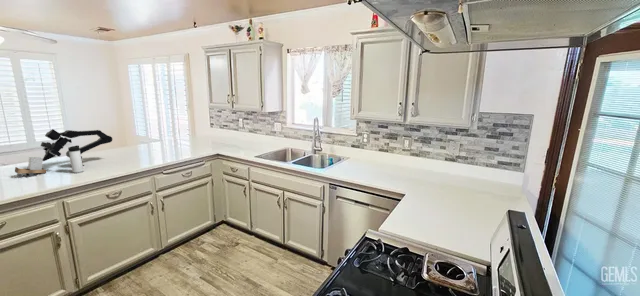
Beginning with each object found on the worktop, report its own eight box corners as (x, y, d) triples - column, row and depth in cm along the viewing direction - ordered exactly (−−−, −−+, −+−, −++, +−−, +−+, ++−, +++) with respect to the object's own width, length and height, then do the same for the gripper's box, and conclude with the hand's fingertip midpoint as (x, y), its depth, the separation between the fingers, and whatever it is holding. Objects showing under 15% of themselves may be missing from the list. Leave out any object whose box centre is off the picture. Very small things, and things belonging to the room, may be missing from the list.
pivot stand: (42, 171, 212) (41, 168, 211) (47, 173, 206) (46, 170, 205) (16, 175, 200) (15, 172, 200) (20, 178, 194) (19, 175, 194)
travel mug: (86, 171, 213) (81, 145, 209) (78, 173, 207) (73, 147, 203) (78, 170, 214) (74, 145, 210) (70, 173, 207) (65, 147, 203)
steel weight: (39, 169, 208) (40, 157, 208) (41, 170, 205) (42, 158, 205) (27, 169, 203) (28, 157, 203) (30, 170, 200) (31, 158, 199)
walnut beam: (42, 171, 211) (43, 166, 210) (45, 173, 206) (46, 168, 206) (14, 172, 198) (15, 167, 198) (17, 174, 194) (18, 168, 194)
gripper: (44, 136, 213) (26, 153, 206) (52, 139, 203) (34, 156, 196) (59, 144, 221) (43, 161, 214) (68, 147, 211) (51, 165, 204)
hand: (42, 160), depth 207 cm, fingers closed
